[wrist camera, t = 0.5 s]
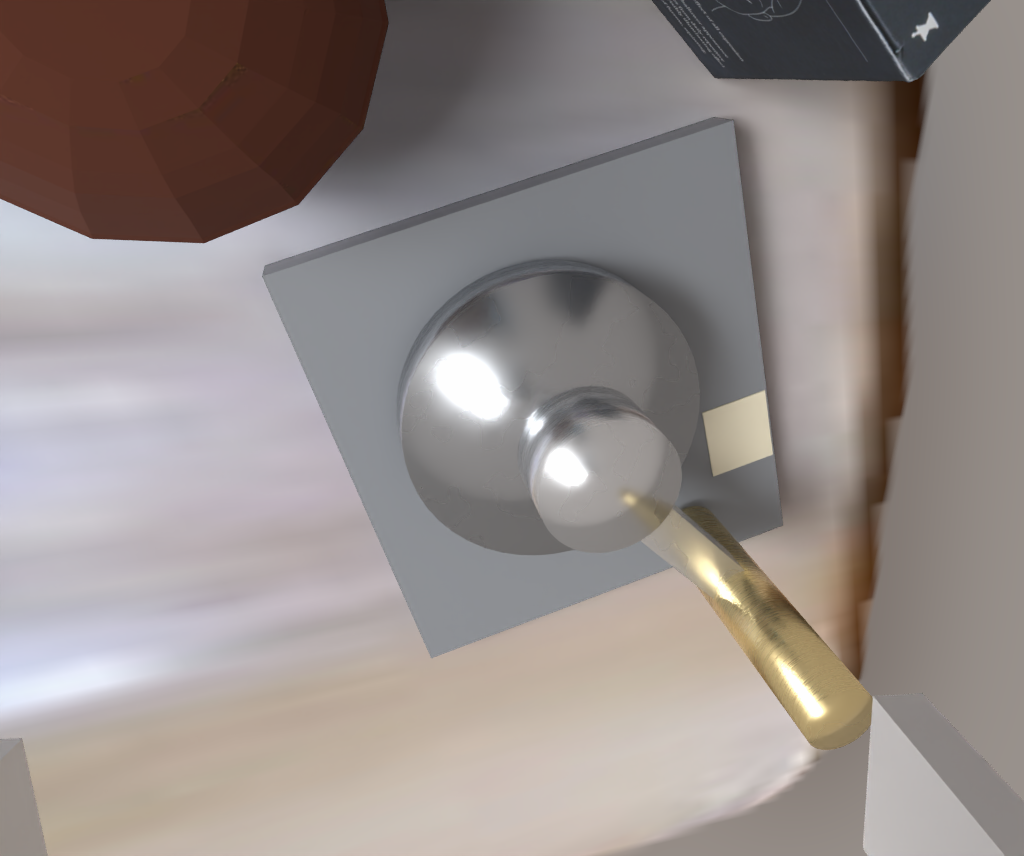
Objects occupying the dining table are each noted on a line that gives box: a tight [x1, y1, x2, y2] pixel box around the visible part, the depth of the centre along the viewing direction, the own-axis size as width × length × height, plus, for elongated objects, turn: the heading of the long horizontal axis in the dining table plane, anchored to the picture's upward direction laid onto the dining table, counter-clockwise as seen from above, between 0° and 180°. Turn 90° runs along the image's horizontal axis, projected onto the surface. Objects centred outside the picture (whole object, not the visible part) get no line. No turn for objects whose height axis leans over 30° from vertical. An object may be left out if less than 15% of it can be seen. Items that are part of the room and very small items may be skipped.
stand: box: [262, 117, 783, 658], centre depth 31 cm, size 18×17×2 cm
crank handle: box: [396, 260, 873, 750], centre depth 26 cm, size 16×11×11 cm
